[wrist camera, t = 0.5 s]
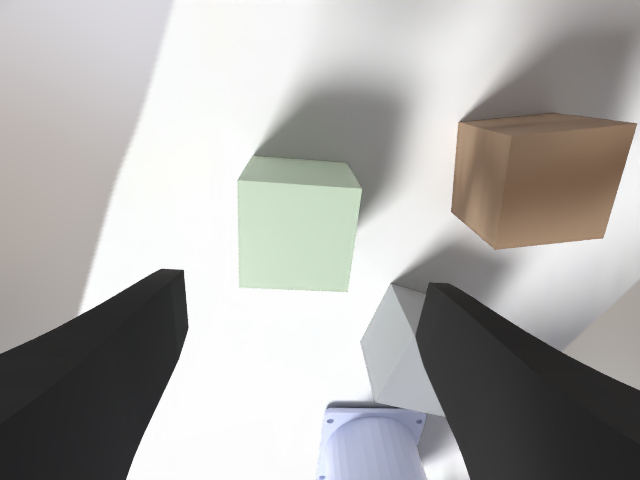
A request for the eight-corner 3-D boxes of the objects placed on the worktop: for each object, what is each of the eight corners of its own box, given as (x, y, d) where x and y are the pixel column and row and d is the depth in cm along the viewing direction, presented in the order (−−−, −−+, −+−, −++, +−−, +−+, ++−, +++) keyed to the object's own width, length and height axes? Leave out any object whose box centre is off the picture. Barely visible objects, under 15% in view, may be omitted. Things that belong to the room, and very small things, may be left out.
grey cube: (423, 356, 25) (451, 418, 20) (360, 341, 24) (374, 402, 19) (457, 302, 23) (496, 356, 18) (390, 282, 22) (414, 335, 17)
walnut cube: (534, 202, 20) (603, 238, 16) (450, 211, 20) (495, 249, 15) (551, 112, 18) (637, 123, 13) (457, 122, 18) (511, 136, 13)
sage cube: (336, 245, 20) (347, 292, 16) (252, 241, 20) (238, 287, 16) (346, 162, 18) (362, 188, 14) (252, 155, 18) (237, 180, 13)
